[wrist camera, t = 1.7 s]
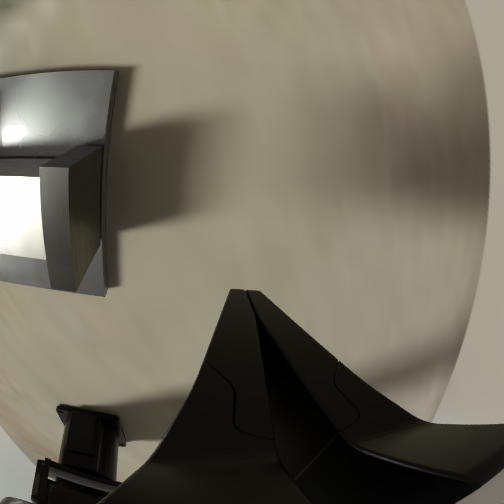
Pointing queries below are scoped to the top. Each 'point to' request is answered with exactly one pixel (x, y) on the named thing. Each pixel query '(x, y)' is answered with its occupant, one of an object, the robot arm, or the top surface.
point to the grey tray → (57, 147)
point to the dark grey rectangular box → (53, 212)
